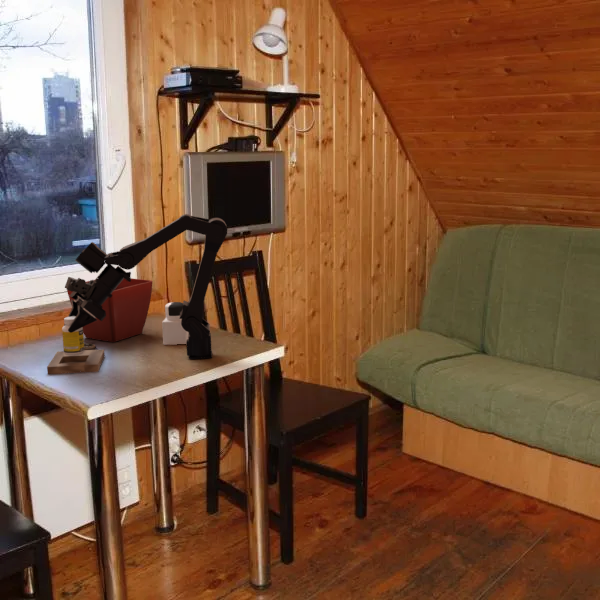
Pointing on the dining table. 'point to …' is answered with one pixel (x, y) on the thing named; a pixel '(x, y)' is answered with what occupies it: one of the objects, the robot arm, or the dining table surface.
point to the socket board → (76, 362)
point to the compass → (89, 346)
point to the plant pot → (122, 312)
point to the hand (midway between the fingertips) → (67, 329)
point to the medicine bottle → (173, 325)
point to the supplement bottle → (72, 338)
